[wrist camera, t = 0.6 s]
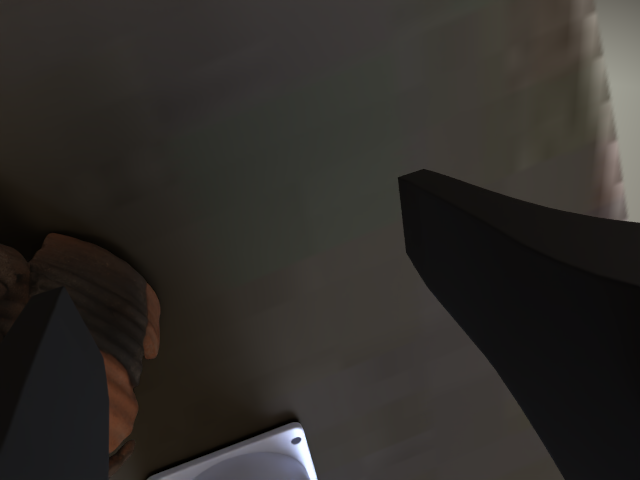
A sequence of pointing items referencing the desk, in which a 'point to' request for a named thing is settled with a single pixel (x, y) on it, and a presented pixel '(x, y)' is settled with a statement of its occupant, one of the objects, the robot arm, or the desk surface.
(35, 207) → the desk surface
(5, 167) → the desk surface
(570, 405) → the robot arm
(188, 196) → the desk surface
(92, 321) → the pottery mug
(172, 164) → the desk surface
